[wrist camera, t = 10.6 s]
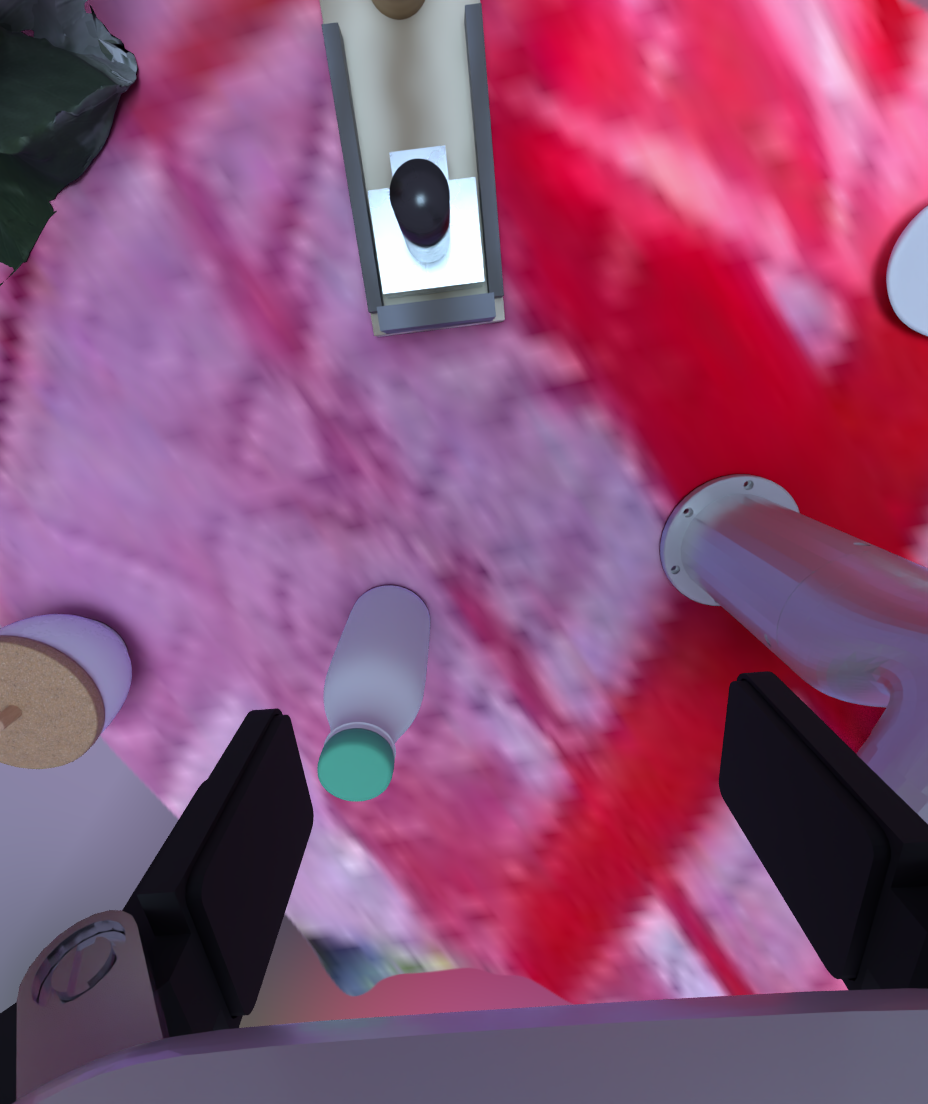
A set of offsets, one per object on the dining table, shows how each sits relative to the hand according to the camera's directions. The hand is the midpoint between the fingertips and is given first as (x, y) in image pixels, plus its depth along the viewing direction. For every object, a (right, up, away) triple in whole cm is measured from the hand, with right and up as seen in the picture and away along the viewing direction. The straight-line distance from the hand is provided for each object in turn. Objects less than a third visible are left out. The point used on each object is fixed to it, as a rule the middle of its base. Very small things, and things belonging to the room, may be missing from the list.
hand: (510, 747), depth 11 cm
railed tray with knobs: (-4, +34, +25) cm, 42 cm away
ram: (-4, +27, +25) cm, 37 cm away
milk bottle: (-8, -2, +39) cm, 40 cm away
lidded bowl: (-38, -5, +39) cm, 55 cm away
